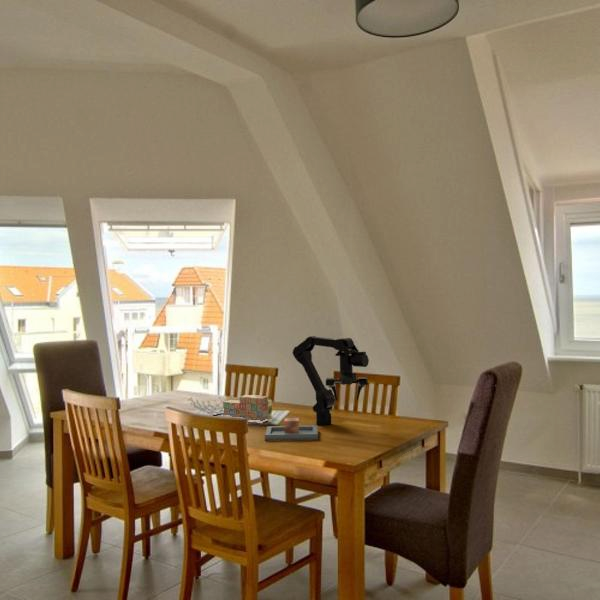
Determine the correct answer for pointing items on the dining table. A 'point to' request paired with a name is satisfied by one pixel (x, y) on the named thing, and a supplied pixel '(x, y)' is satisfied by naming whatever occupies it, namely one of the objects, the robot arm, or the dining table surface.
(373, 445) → the dining table surface
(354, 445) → the dining table surface
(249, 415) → the stack of blocks
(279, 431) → the tray
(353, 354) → the robot arm
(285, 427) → the cube
